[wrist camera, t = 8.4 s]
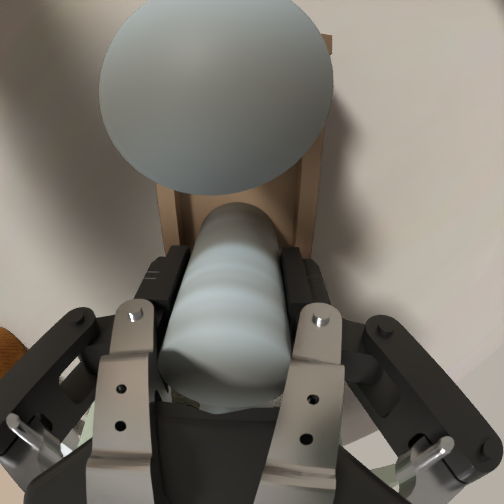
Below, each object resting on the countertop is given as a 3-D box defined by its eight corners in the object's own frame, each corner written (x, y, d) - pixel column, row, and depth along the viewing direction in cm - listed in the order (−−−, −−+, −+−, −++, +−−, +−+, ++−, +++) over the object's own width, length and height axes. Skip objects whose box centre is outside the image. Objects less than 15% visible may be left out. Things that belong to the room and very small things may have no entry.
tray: (165, 49, 10) (37, 5, 2) (315, 47, 10) (416, -16, 2) (193, 343, 20) (173, 459, 12) (289, 345, 20) (300, 463, 12)
